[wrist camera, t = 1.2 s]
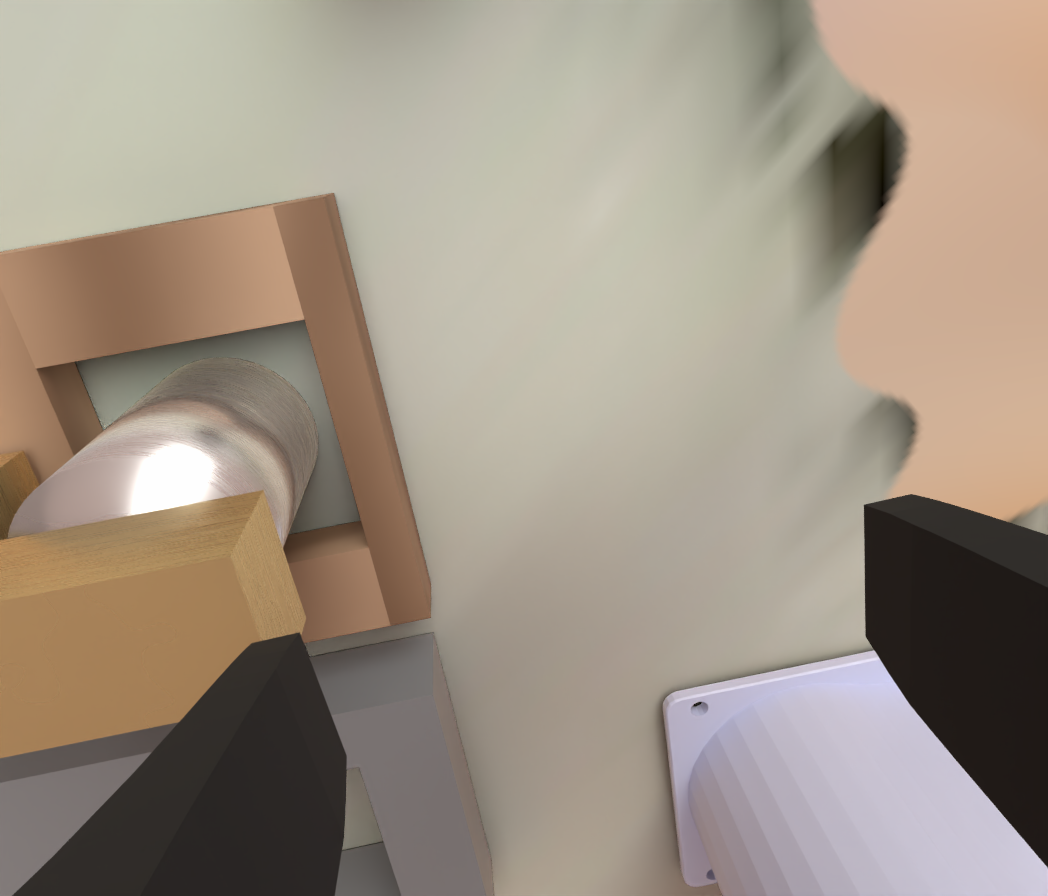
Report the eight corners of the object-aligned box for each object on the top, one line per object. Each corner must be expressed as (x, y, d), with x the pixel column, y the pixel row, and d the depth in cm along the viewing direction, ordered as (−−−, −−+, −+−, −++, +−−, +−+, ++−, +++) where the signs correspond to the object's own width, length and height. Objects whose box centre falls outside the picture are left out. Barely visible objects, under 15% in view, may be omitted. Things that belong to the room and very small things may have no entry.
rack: (433, 632, 20) (432, 694, 18) (491, 860, 24) (497, 936, 22) (-10, 721, 20) (-68, 796, 18) (116, 940, 23) (81, 1027, 21)
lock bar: (310, 396, 16) (230, 556, 10) (339, 496, 17) (283, 700, 11) (-50, 463, 15) (-369, 673, 9) (0, 562, 16) (-259, 811, 10)
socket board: (333, 192, 16) (323, 197, 14) (430, 585, 20) (430, 617, 18) (-465, 334, 15) (-555, 353, 14) (-202, 710, 19) (-252, 754, 18)
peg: (291, 343, 17) (222, 437, 11) (336, 496, 19) (294, 645, 13) (116, 375, 17) (-40, 487, 11) (176, 528, 18) (65, 692, 13)
